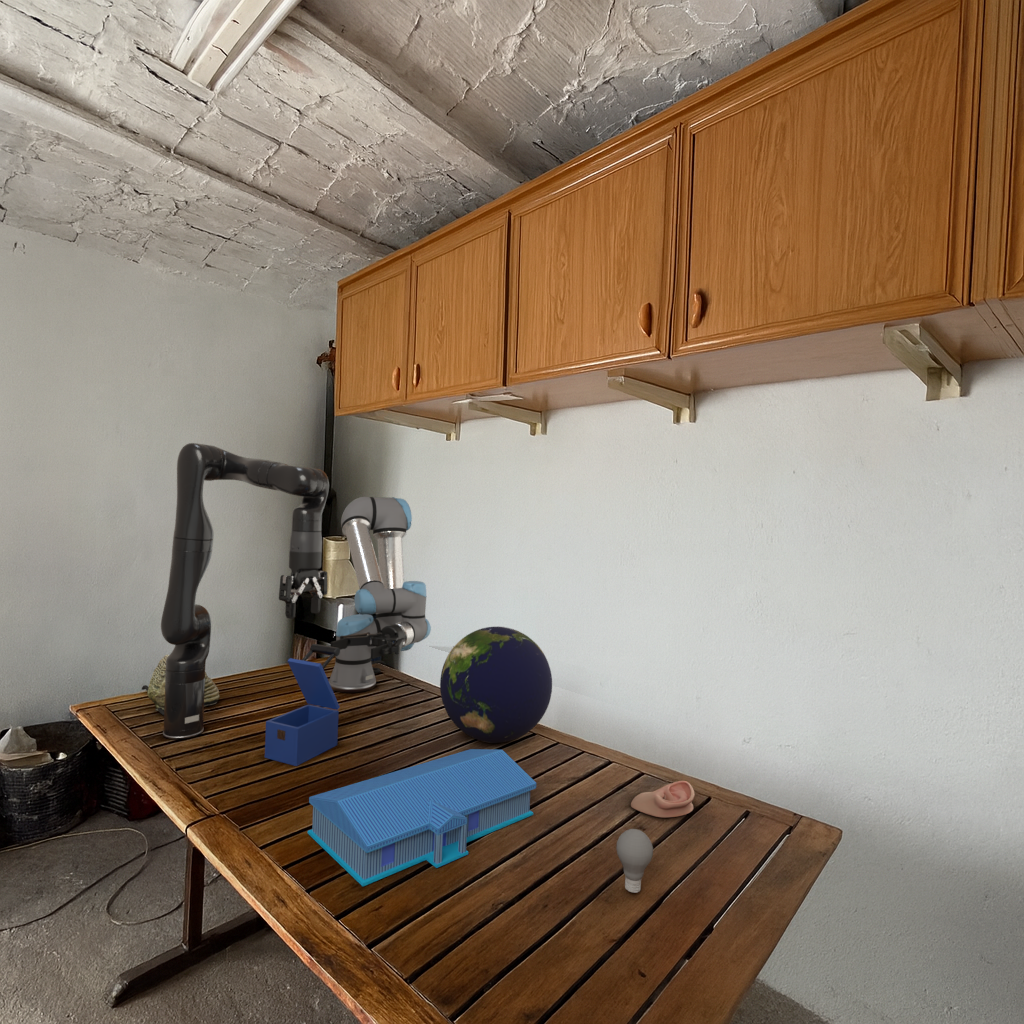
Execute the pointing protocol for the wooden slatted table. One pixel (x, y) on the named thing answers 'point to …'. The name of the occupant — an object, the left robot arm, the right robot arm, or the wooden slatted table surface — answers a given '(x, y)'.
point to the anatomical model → (666, 800)
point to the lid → (315, 677)
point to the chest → (301, 734)
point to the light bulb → (634, 857)
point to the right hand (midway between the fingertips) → (351, 650)
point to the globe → (496, 684)
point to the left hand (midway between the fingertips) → (303, 615)
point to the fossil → (158, 687)
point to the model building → (420, 812)
